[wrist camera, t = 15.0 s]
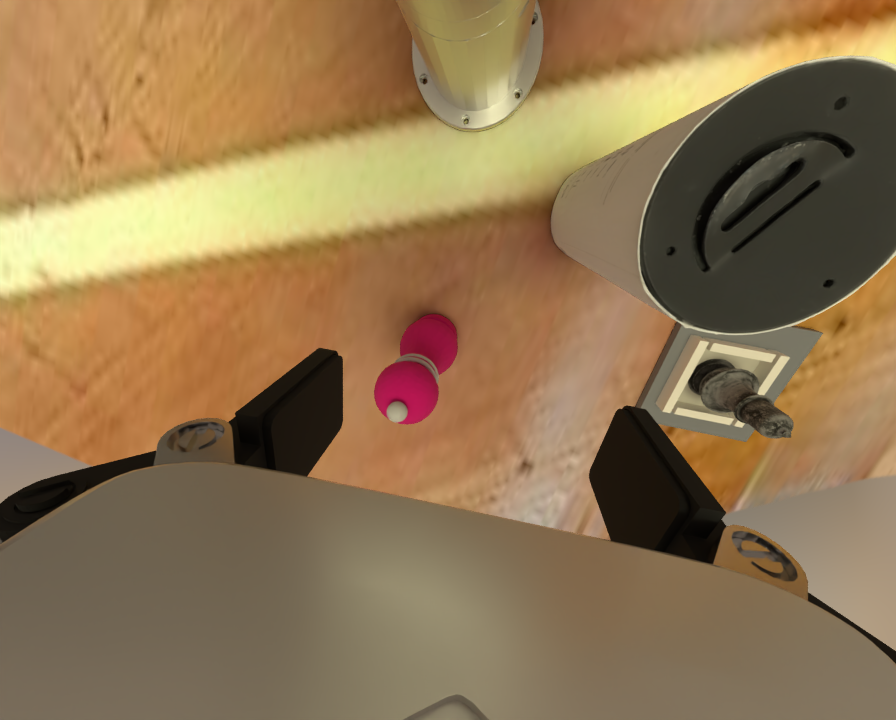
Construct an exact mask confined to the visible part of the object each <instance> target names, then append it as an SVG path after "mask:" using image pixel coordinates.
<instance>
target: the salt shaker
mask: <svg viewBox="0 0 896 720" xmlns="http://www.w3.org/2000/svg"><path fill="white" fill-rule="evenodd" d="M688 385H689V388H690V389H691V390H692V391H693V392H694V393H696V394H698V395H700V396H701V400H702V402H703V404H704V405H705V406H706V407H707V408H708V409H710V410H711V411H714V412H718V413H728V412H733V413H734V416H735V418H736V419H737V420H738V421H740V422H742V423H746V424H749V425H750V426H752V427H753V428H754V429H755V430H756V431H758V432H759V433H760V434H761V435H763V436H765V437H768V438H781V437H787V438H790V437H791V431H792V429H793V421H792V419H791V418H790V417H789V416H788V415H786V414H785V413H784V412H782V411H781V410H779V409H778V408H776V407H775V406H774V403H773V401H772V400H771V399H770V398H769V397H767V396H764V395H759V394H758V391H759V381H758V378H757V377H756V376H755V375H754V374H753V373H751V372H750V371H748V370H744V369H736V368H735V367H734V366H733V365H732V364H731V363H730V362H728V361H727V360H723V359H711V360H707V361H704V362H702V363H700V364H699V365H697V366H696V367H695V369H694V371H693V373H692V375H691V376H690V378H689V380H688Z"/></svg>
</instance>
